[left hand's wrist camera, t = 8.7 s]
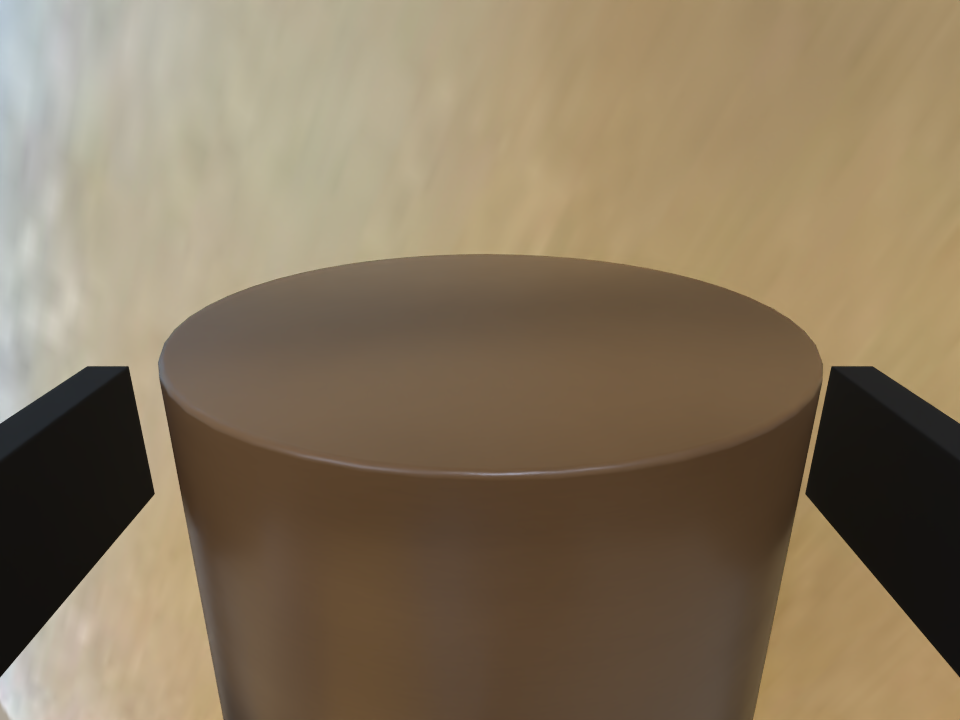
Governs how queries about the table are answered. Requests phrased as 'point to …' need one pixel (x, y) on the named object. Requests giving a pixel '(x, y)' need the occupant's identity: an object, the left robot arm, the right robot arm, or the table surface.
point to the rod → (489, 489)
